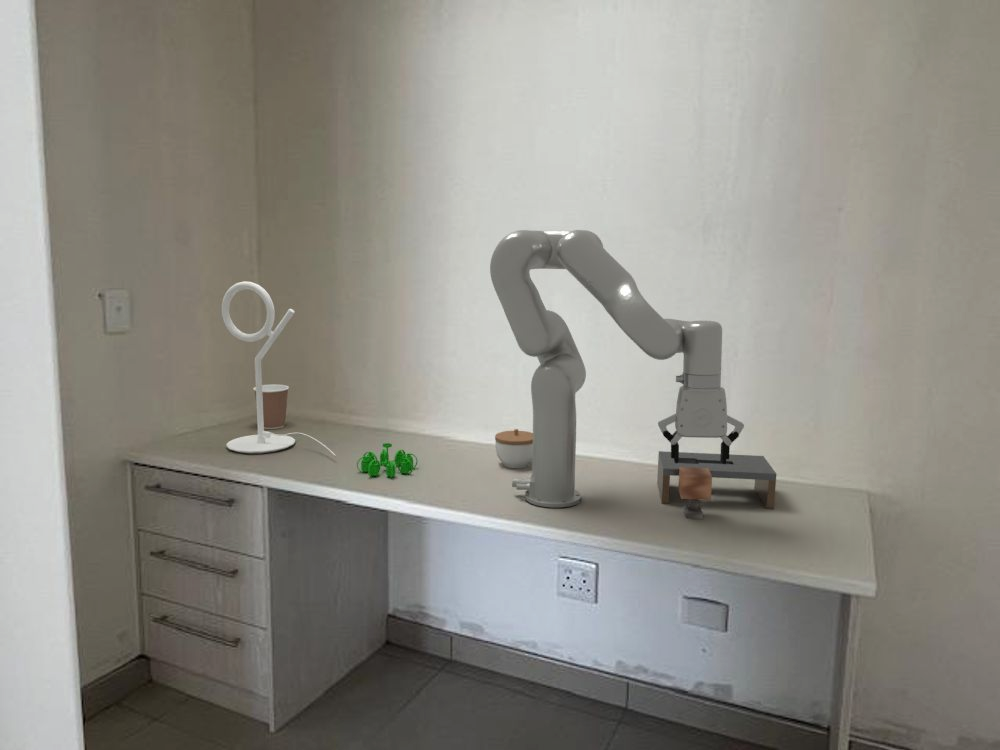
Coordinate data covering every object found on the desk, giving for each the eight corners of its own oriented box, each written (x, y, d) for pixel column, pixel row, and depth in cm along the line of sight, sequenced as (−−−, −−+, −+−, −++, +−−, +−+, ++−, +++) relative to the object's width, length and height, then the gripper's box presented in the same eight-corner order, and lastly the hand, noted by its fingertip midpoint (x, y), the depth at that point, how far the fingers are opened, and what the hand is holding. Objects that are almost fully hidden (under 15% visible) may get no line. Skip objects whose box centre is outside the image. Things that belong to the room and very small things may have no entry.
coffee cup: (295, 423, 243) (293, 384, 241) (282, 431, 233) (281, 391, 231) (262, 421, 244) (261, 383, 242) (249, 429, 234) (247, 390, 232)
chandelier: (429, 468, 199) (429, 441, 197) (394, 484, 186) (393, 456, 184) (381, 459, 206) (381, 434, 204) (344, 474, 193) (343, 447, 191)
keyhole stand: (661, 503, 174) (663, 468, 172) (657, 483, 188) (658, 451, 186) (773, 509, 171) (776, 473, 170) (760, 488, 185) (763, 455, 183)
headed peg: (679, 520, 164) (682, 475, 162) (677, 510, 170) (679, 467, 168) (709, 521, 163) (712, 476, 161) (705, 511, 169) (708, 468, 167)
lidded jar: (490, 460, 205) (490, 425, 204) (529, 457, 208) (530, 423, 206) (500, 472, 195) (501, 435, 193) (541, 469, 198) (542, 433, 196)
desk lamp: (208, 450, 211) (198, 282, 203) (248, 434, 228) (241, 278, 220) (332, 464, 200) (327, 286, 192) (365, 446, 217) (362, 282, 209)
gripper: (660, 384, 159) (658, 466, 161) (748, 385, 156) (745, 468, 159) (657, 378, 166) (656, 456, 169) (742, 378, 164) (739, 458, 167)
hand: (699, 462), depth 164 cm, fingers open, 9 cm apart
